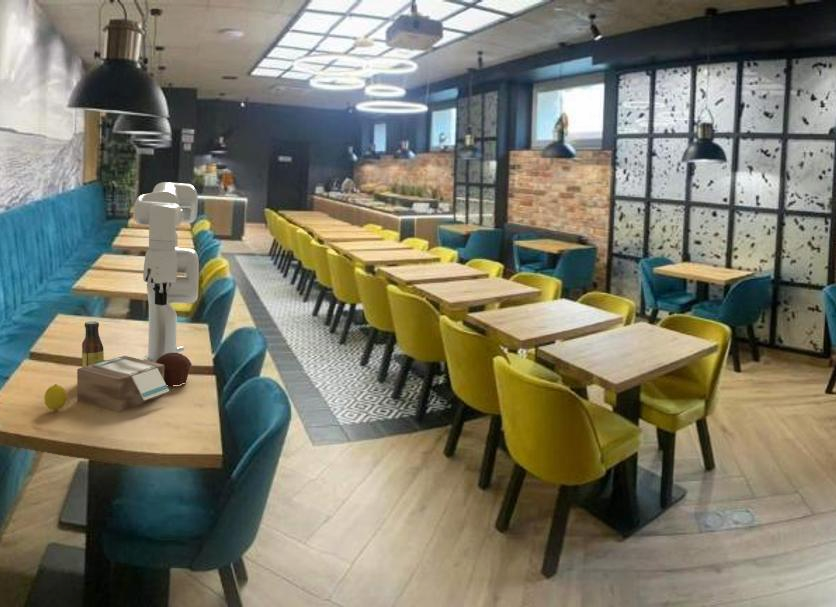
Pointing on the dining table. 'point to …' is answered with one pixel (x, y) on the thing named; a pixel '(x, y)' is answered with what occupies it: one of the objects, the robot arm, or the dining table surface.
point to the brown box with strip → (113, 383)
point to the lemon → (55, 397)
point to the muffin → (175, 368)
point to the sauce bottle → (92, 345)
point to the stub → (150, 384)
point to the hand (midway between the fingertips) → (160, 304)
